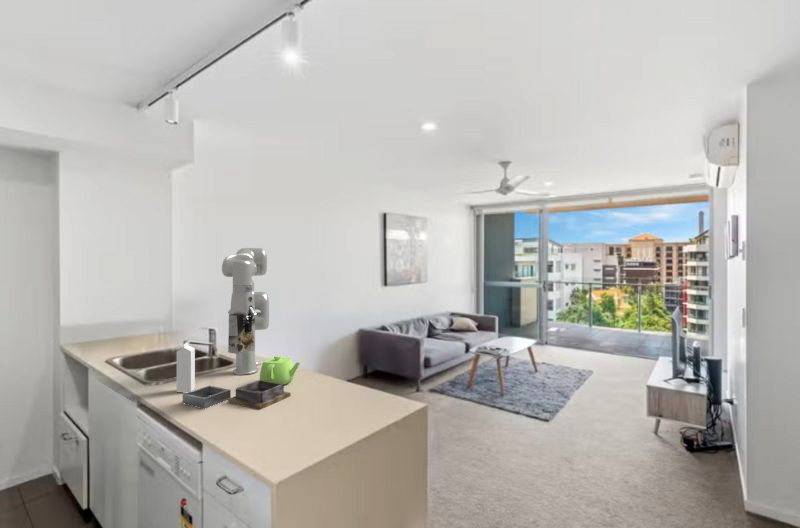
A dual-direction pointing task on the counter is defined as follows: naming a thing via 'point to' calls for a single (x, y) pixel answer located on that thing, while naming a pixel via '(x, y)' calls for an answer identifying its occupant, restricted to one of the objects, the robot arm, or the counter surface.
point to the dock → (259, 394)
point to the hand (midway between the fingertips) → (242, 331)
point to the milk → (186, 369)
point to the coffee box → (240, 335)
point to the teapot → (278, 370)
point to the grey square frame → (198, 400)
